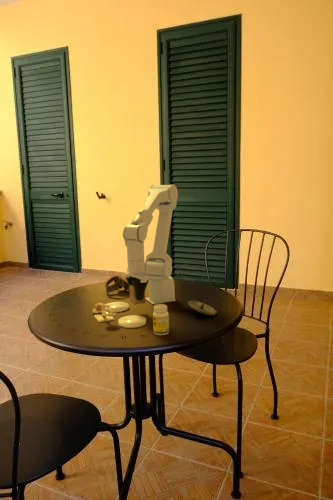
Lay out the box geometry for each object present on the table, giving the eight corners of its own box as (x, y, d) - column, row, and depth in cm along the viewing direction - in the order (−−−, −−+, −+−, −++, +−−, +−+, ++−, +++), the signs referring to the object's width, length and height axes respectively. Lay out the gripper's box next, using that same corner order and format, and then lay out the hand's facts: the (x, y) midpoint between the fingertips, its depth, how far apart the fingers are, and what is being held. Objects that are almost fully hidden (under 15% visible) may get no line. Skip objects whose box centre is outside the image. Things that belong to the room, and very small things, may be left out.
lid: (186, 308, 145) (186, 295, 144) (214, 308, 145) (214, 294, 144) (189, 319, 134) (188, 304, 133) (219, 318, 134) (219, 303, 134)
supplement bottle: (153, 330, 125) (152, 303, 124) (168, 329, 126) (167, 303, 124) (153, 336, 121) (153, 308, 119) (169, 335, 121) (169, 308, 120)
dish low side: (124, 303, 153) (124, 300, 153) (132, 309, 145) (132, 307, 145) (100, 306, 149) (100, 304, 149) (107, 313, 141) (107, 311, 141)
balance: (104, 310, 145) (103, 293, 144) (118, 325, 130) (117, 306, 129) (90, 312, 143) (89, 295, 142) (103, 327, 128) (102, 308, 127)
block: (141, 299, 143) (140, 283, 142) (145, 302, 140) (144, 286, 138) (130, 301, 142) (129, 284, 140) (134, 304, 138) (133, 287, 137)
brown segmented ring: (133, 296, 163) (123, 281, 159) (112, 307, 164) (102, 291, 160) (131, 281, 174) (122, 267, 170) (112, 291, 175) (102, 277, 171)
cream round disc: (140, 316, 138) (140, 313, 138) (150, 324, 130) (150, 321, 130) (114, 320, 134) (114, 318, 134) (123, 329, 126) (123, 326, 126)
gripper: (118, 257, 143) (119, 294, 145) (132, 264, 130) (133, 305, 132) (137, 255, 146) (138, 291, 148) (152, 262, 133) (153, 302, 135)
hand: (137, 298), depth 140 cm, fingers closed on block, 4 cm apart
